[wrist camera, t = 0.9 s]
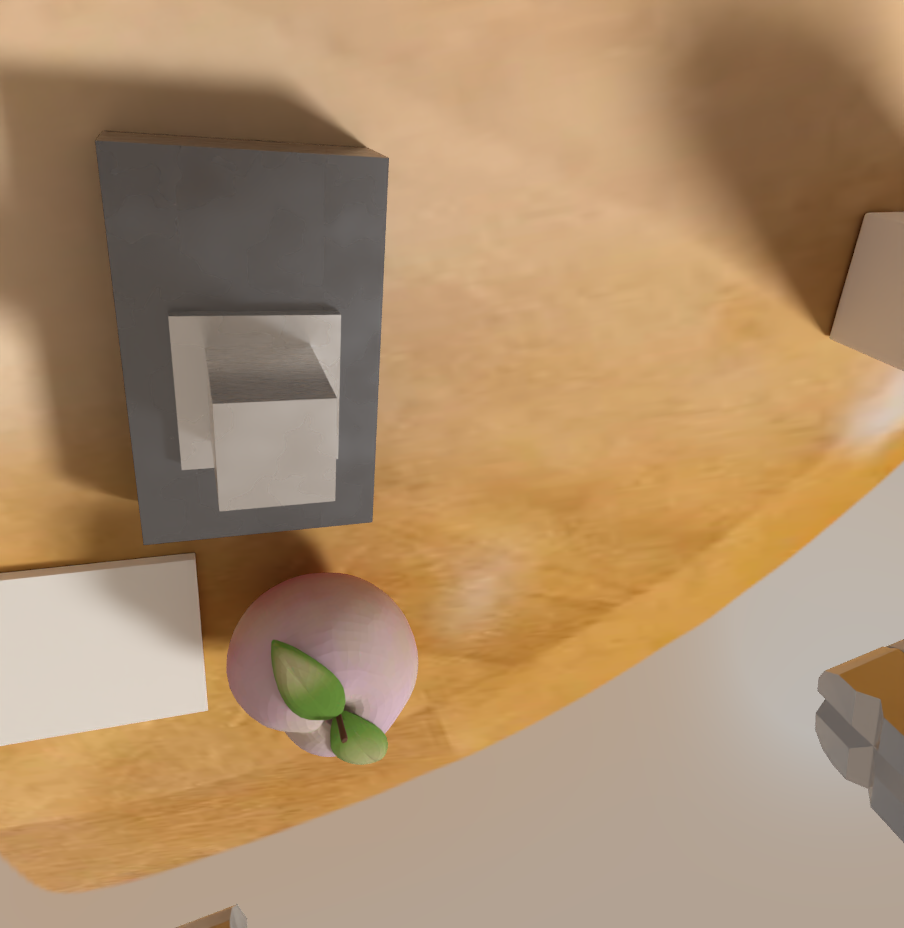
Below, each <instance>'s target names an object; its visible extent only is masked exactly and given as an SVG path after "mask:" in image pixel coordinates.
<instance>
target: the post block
mask: <svg viewBox="0 0 904 928" xmlns="http://www.w3.org/2000/svg"><path fill="white" fill-rule="evenodd" d="M95 144H96V152H97V161H98V169H99V177H100V186H101V194H102V202H103V211H104V219H105V227H106V236H107V244H108V252H109V261H110V269H111V277H112V286H113V294H114V302H115V310H116V319H117V327H118V335H119V344H120V352H121V360H122V369H123V377H124V385H125V394H126V402H127V410H128V419H129V427H130V435H131V444H132V452H133V460H134V468H135V477H136V485H137V493H138V502H139V510H140V518H141V527H142V535H143V543H144V545H150V544H160V543H170V542H180V541H190V540H200V539H210V538H220V537H230V536H239V535H249V534H259V533H269V532H279V531H289V530H299V529H309V528H319V527H329V526H339V525H349V524H359V523H369V522H372V517H373V495H374V473H375V451H376V429H377V407H378V385H379V363H380V342H381V320H382V298H383V276H384V254H385V232H386V210H387V188H388V166H389V158H388V157H386V156H384V155H382V154H380V153H377V152H375V151H373V150H371V149H369V148H364V147H348V146H333V145H317V144H301V143H286V142H270V141H254V140H239V139H223V138H207V137H192V136H176V135H160V134H145V133H129V132H113V131H102V132H101V133H100V134H99V136H98V137H97V139H96V140H95ZM327 310H338V311H339V312H340V314H341V348H340V397H339V446H338V459H336V490H335V501H330V502H319V503H308V504H297V505H286V506H275V507H264V508H252V509H241V510H230V511H219V504H218V496H217V488H216V480H215V471H214V468H205V469H191V470H182V468H181V456H180V445H179V434H178V422H177V411H176V399H175V388H174V377H173V365H172V354H171V342H170V331H169V320H168V312H193V311H327Z"/></svg>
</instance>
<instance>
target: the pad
mask: <svg viewBox="0 0 904 928" xmlns="http://www.w3.org/2000/svg"><path fill="white" fill-rule="evenodd" d="M202 711H208V703H207V691H206V679H205V667H204V655H203V643H202V631H201V619H200V607H199V595H198V583H197V571H196V559H195V553H187V554H177V555H168V556H158V557H149V558H139V559H130V560H120V561H111V562H101V563H92V564H83V565H73V566H64V567H54V568H45V569H35V570H26V571H16V572H7V573H0V746H3V745H9V744H15V743H21V742H27V741H32V740H38V739H44V738H50V737H56V736H62V735H67V734H73V733H79V732H85V731H91V730H97V729H103V728H108V727H114V726H120V725H126V724H132V723H138V722H143V721H149V720H155V719H161V718H167V717H173V716H179V715H184V714H190V713H196V712H202Z"/></svg>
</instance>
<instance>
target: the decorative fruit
mask: <svg viewBox="0 0 904 928" xmlns="http://www.w3.org/2000/svg"><path fill="white" fill-rule="evenodd" d="M417 672H418V653H417V647H416V643H415V639H414V636H413V633H412V631H411V628H410V626H409V624H408V621H407V619H406V617H405V616H404V614H403V612H402V611H401V609H400V608H399V607H398V606H397V605H396V603H395V602H394V601H393V600H392V599H391V598H390V597H389V596H388V595H387V594H386V593H384V592H383V591H382V590H380V589H379V588H377V587H376V586H374V585H373V584H371V583H369V582H367V581H365V580H363V579H361V578H358V577H355V576H351V575H347V574H341V573H313V574H305V575H300V576H297V577H293V578H291V579H288V580H286V581H284V582H282V583H280V584H278V585H276V586H274V587H272V588H271V589H269V590H268V591H266V592H265V593H263V594H262V595H261V596H260V597H258V598H257V599H256V600H255V601H254V602H253V603H252V604H251V605H250V606H249V608H248V609H247V610H246V612H245V613H244V614H243V616H242V617H241V619H240V620H239V622H238V624H237V626H236V628H235V630H234V632H233V635H232V638H231V640H230V644H229V649H228V654H227V677H228V681H229V686H230V689H231V691H232V693H233V695H234V697H235V699H236V701H237V702H238V703H239V704H240V706H241V707H242V708H243V709H244V710H245V711H246V712H247V713H248V714H249V715H250V716H251V717H252V718H254V719H255V720H257V721H258V722H259V723H261V724H262V725H264V726H266V727H269V728H272V729H275V730H279V731H285V733H286V734H287V735H288V737H289V738H290V739H291V740H292V741H293V742H294V743H295V744H296V745H298V746H299V747H300V748H301V749H303V750H305V751H307V752H309V753H311V754H314V755H318V756H325V757H334V756H337V757H338V758H340V759H341V760H343V761H346V762H348V763H352V764H360V765H362V764H370V763H373V762H376V761H379V760H381V759H382V758H383V757H384V756H385V754H386V752H387V748H388V742H387V738H386V736H385V733H386V732H387V731H388V729H389V728H390V727H391V725H392V724H393V723H394V721H395V720H396V718H397V717H398V715H399V714H400V712H401V711H402V709H403V707H404V706H405V704H406V703H407V701H408V699H409V697H410V695H411V693H412V691H413V689H414V686H415V682H416V678H417Z"/></svg>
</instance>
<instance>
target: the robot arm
mask: <svg viewBox="0 0 904 928" xmlns="http://www.w3.org/2000/svg"><path fill="white" fill-rule="evenodd" d="M818 692H819V693H820V694H821V695H822V696H823V697H824V698H825V700H824V702H823V703H822V705H821V706H820V708H819V709H818V711H817V712H816V723H815V726H816V727H815V730H816V733H817V736H818V738H819V741H820V744H821V746H822V749H823V751H824V752H825V754H826V755H827V757H828V758H829V760H830V761H831V763H832V764H833V765H834V767H835V768H836V769H837V770H838V771H839V772H840V773H841V774H842V775H843V777H844V778H845V779H846V780H849V781H851V782H854V783H856V784H858V785H861V786H863V787H866V788H868V792H869V798H870V805H871V808H872V809H873V810H874V811H875V812H876V813H877V814H878V815H879V816H880V817H881V818H882V820H883V821H884V822H885V823H886V824H887V825H888V826H889V827H890V828H891V829H892V830H893V832H894V833H895V834H896V835H897V836H898V837H899V838H900V839H901V840H902V841H903V842H904V639H903V640H901V641H898V642H896V643H894V644H891V645H889V646H886V647H881V648H878V649H876V650H874V651H871V652H869V653H866V654H864V655H862V656H859V657H857V658H855V659H852V660H850V661H847V662H845V663H843V664H840V665H838V666H835V667H833V668H830V669H828V670H826V671H824V672H823V673H822V675H821V676H820V677H819V681H818ZM176 928H247V918H246V916H245V915H244V914H243V912H242V911H241V909H240V908H239V906H238V905H237V904H236V905H234V906H231V907H229V908H226V909H223V910H221V911H218V912H216V913H213V914H211V915H208V916H205V917H203V918H200V919H197V920H195V921H192V922H189V923H187V924H184V925H181V926H179V927H176Z"/></svg>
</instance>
